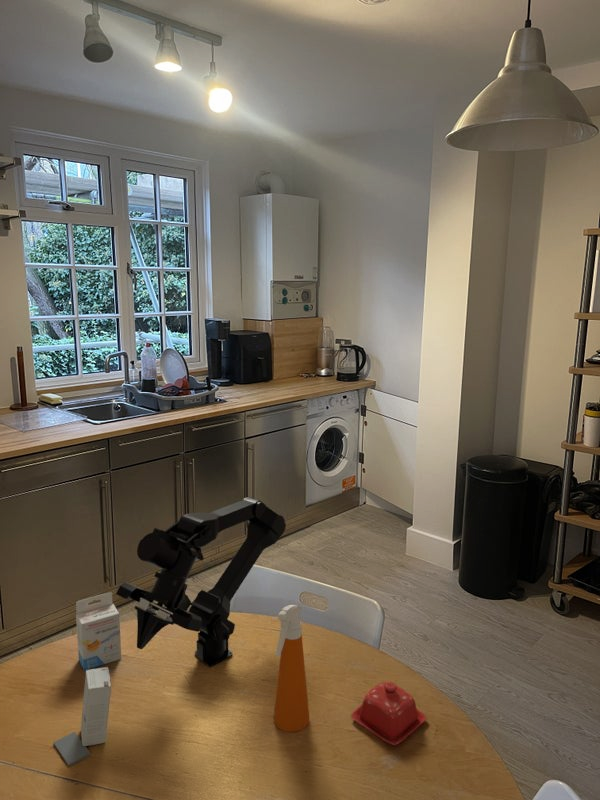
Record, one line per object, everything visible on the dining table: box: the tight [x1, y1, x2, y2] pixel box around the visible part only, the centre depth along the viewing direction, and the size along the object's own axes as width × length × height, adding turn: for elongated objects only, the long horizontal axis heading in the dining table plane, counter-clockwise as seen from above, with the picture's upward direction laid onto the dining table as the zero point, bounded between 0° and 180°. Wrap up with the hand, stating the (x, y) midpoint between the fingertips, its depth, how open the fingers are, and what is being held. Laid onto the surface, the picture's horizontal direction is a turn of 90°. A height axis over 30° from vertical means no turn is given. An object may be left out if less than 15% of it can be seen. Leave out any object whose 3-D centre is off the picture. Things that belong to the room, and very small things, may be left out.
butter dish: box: [350, 681, 427, 746], centre depth 118 cm, size 12×12×8 cm
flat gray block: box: [53, 731, 91, 767], centre depth 110 cm, size 4×7×1 cm, turn 43°
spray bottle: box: [273, 604, 310, 733], centre depth 114 cm, size 7×11×26 cm, turn 158°
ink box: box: [75, 591, 122, 672], centre depth 135 cm, size 8×5×15 cm, turn 123°
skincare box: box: [80, 666, 112, 747], centre depth 113 cm, size 6×4×12 cm
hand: (139, 648), depth 120 cm, fingers closed
